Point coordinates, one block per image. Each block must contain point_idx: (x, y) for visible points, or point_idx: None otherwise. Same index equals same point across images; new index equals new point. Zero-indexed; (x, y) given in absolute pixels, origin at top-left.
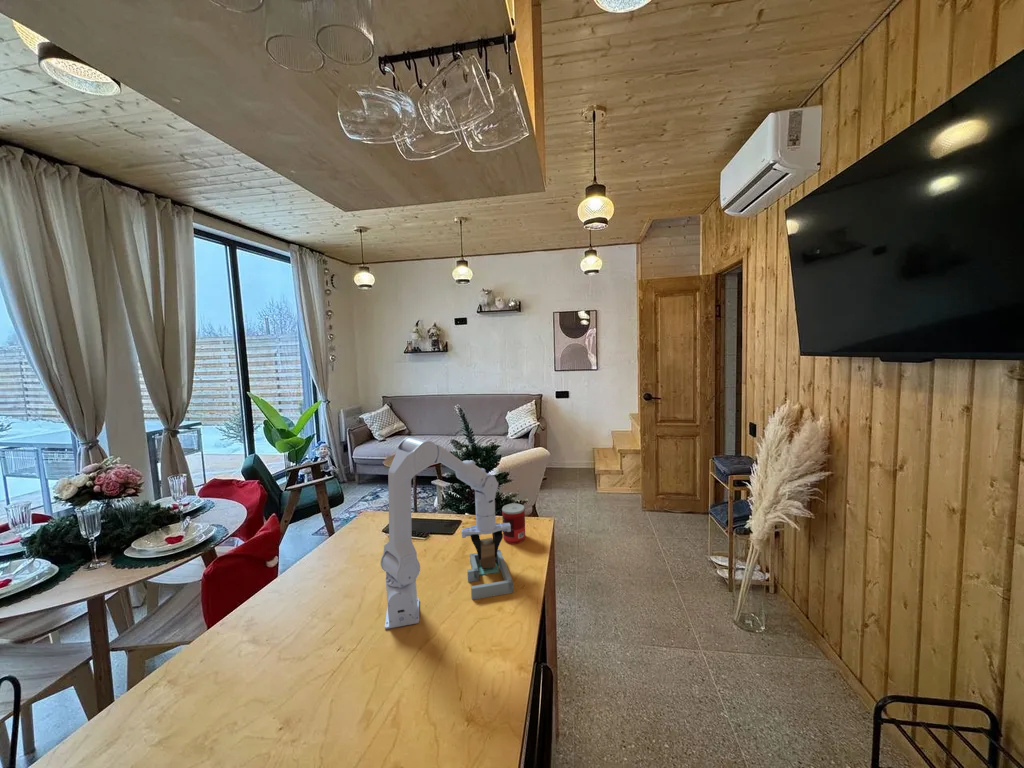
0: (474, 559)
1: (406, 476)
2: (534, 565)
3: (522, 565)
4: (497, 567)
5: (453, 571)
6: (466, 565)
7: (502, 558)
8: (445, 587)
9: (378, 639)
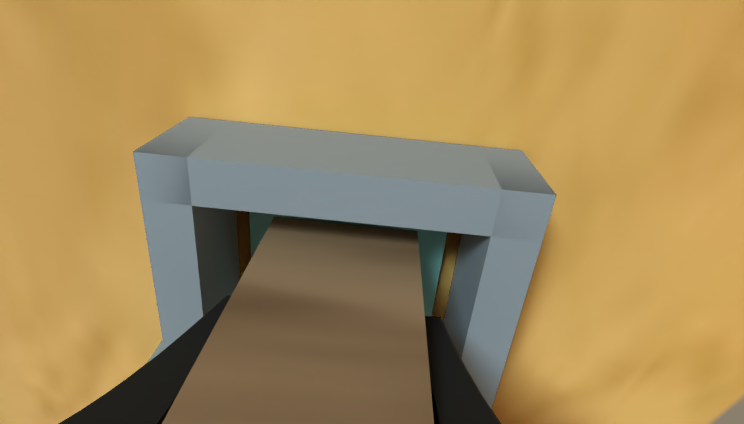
0: (190, 285)
1: None
2: (740, 357)
3: (651, 324)
4: (429, 298)
5: (27, 192)
6: (149, 138)
7: (491, 371)
8: (5, 359)
9: None
